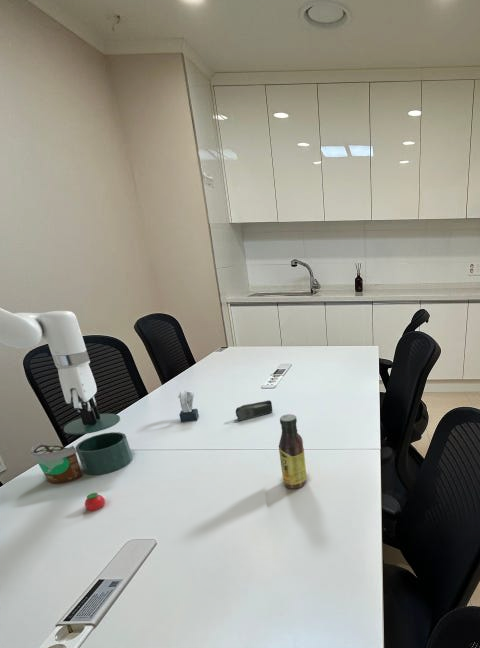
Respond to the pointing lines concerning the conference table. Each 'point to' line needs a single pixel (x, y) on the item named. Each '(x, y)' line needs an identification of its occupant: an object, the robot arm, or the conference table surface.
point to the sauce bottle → (291, 453)
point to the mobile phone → (253, 410)
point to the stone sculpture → (187, 407)
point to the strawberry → (94, 502)
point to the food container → (57, 463)
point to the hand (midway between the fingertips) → (92, 421)
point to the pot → (104, 453)
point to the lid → (101, 424)
